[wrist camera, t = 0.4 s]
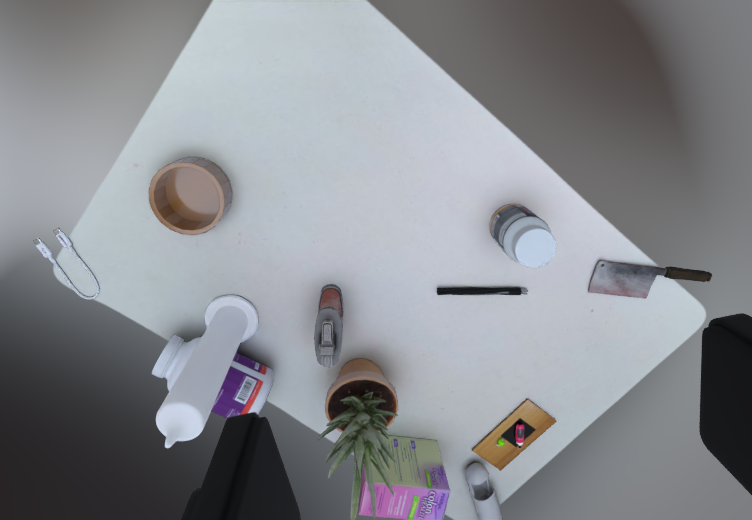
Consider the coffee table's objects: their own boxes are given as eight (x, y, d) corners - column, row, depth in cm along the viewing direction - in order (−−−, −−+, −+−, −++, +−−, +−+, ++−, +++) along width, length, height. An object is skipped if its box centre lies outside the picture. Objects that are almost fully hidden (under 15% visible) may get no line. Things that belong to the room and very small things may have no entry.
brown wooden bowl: (151, 165, 60) (137, 171, 56) (219, 150, 59) (210, 155, 56) (175, 231, 63) (164, 241, 59) (241, 217, 62) (234, 226, 59)
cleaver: (588, 294, 67) (600, 260, 65) (585, 290, 68) (596, 257, 66) (699, 305, 69) (714, 273, 67) (694, 302, 70) (709, 270, 68)
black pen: (528, 289, 66) (527, 296, 67) (526, 286, 67) (525, 292, 68) (438, 289, 66) (437, 296, 66) (437, 286, 67) (436, 292, 67)
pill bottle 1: (260, 393, 73) (167, 351, 70) (282, 360, 68) (185, 314, 66) (243, 439, 66) (139, 395, 63) (266, 406, 62) (157, 356, 59)
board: (471, 449, 76) (474, 456, 75) (527, 398, 74) (531, 405, 72) (500, 469, 78) (502, 476, 77) (555, 420, 75) (559, 427, 74)
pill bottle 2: (540, 226, 64) (571, 251, 55) (504, 253, 66) (529, 282, 56) (515, 193, 63) (543, 213, 54) (479, 222, 64) (500, 246, 55)
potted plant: (359, 415, 74) (361, 569, 50) (314, 375, 71) (295, 519, 48) (409, 375, 72) (436, 517, 48) (365, 333, 69) (371, 462, 46)
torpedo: (455, 469, 76) (482, 495, 71) (478, 452, 78) (506, 476, 72) (482, 549, 83) (509, 578, 77) (503, 531, 84) (531, 559, 78)
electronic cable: (31, 241, 62) (33, 240, 62) (81, 304, 65) (82, 303, 66) (58, 227, 61) (60, 226, 62) (107, 292, 65) (108, 290, 65)
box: (357, 517, 66) (443, 523, 68) (364, 482, 65) (451, 489, 66) (355, 463, 76) (430, 469, 78) (361, 432, 75) (437, 439, 76)
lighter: (342, 337, 69) (340, 378, 60) (318, 337, 69) (312, 378, 59) (343, 284, 66) (342, 318, 57) (318, 283, 66) (312, 318, 57)
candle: (239, 350, 69) (179, 490, 45) (195, 321, 67) (110, 452, 44) (269, 314, 67) (223, 441, 44) (225, 284, 65) (153, 399, 42)
